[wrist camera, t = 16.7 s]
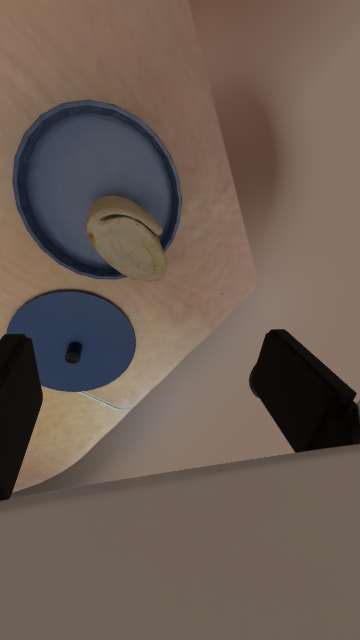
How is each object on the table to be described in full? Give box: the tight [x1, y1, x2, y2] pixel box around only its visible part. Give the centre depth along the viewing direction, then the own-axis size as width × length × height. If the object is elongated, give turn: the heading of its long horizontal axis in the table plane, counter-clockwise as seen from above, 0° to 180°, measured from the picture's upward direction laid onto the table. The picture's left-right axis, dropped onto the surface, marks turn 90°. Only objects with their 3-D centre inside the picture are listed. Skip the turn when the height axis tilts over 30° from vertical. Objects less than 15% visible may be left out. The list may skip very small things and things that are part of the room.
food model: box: [85, 195, 167, 281], centre depth 32 cm, size 10×7×20 cm
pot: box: [13, 100, 182, 279], centre depth 37 cm, size 22×22×4 cm
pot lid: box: [7, 291, 136, 392], centre depth 47 cm, size 23×23×5 cm
